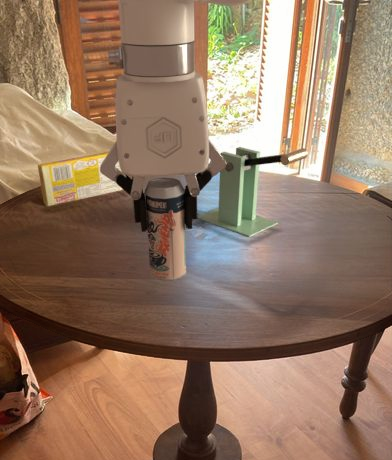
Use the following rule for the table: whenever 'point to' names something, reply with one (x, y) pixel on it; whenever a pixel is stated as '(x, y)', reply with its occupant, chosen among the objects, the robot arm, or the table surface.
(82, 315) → the table surface
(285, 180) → the table surface
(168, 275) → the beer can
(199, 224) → the table surface
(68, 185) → the candy box
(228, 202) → the bracket
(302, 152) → the lever
